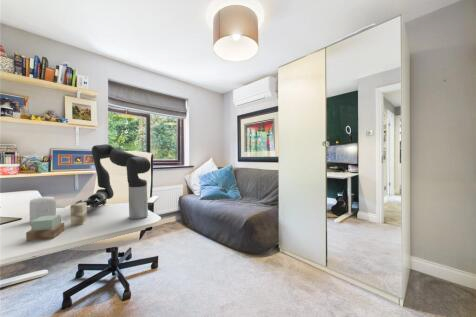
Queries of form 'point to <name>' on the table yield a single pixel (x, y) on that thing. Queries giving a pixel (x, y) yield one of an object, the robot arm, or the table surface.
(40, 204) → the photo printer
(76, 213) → the ash block
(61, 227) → the bottom block
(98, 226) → the table surface
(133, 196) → the robot arm
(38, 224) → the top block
